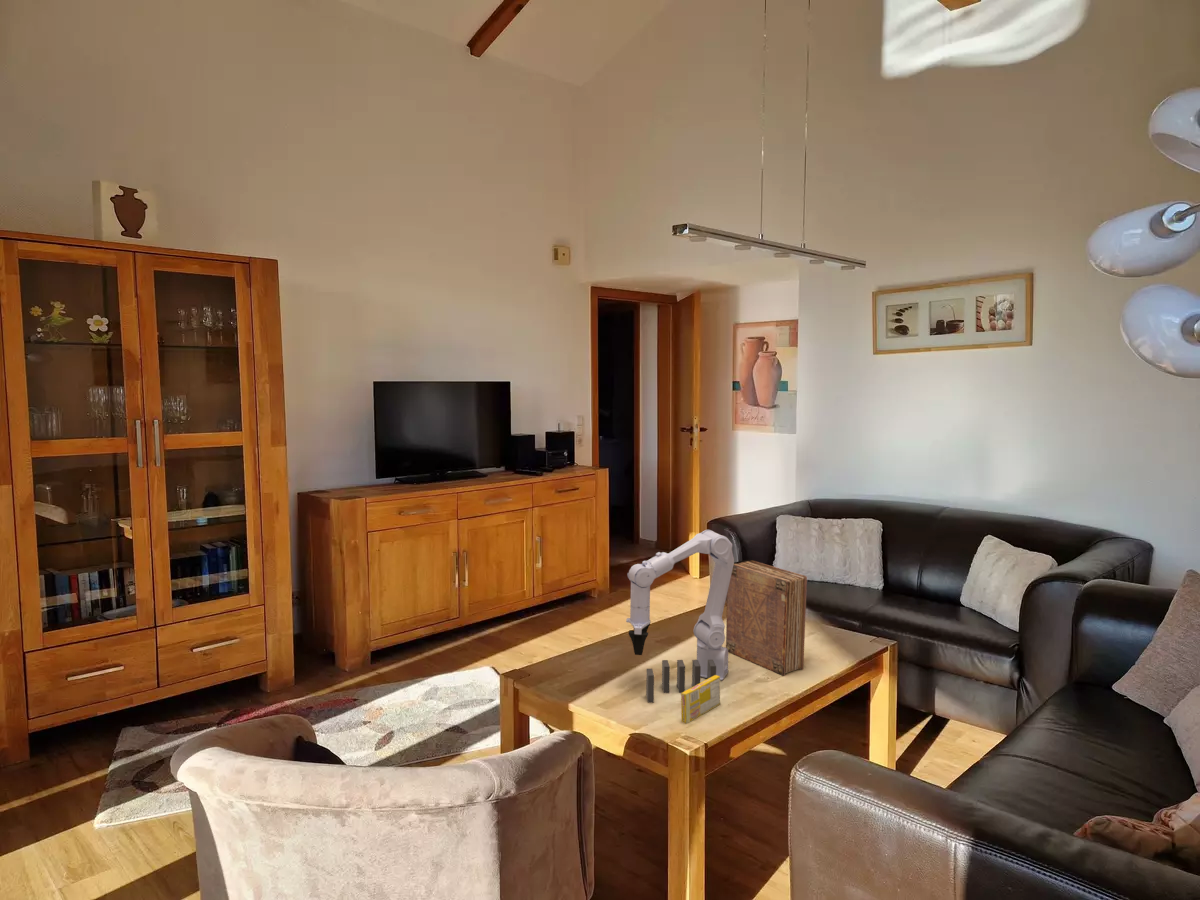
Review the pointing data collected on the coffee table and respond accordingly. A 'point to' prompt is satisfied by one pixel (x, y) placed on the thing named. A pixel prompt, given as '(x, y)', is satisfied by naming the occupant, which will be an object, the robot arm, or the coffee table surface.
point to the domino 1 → (650, 686)
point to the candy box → (700, 699)
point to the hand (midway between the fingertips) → (639, 649)
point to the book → (766, 616)
